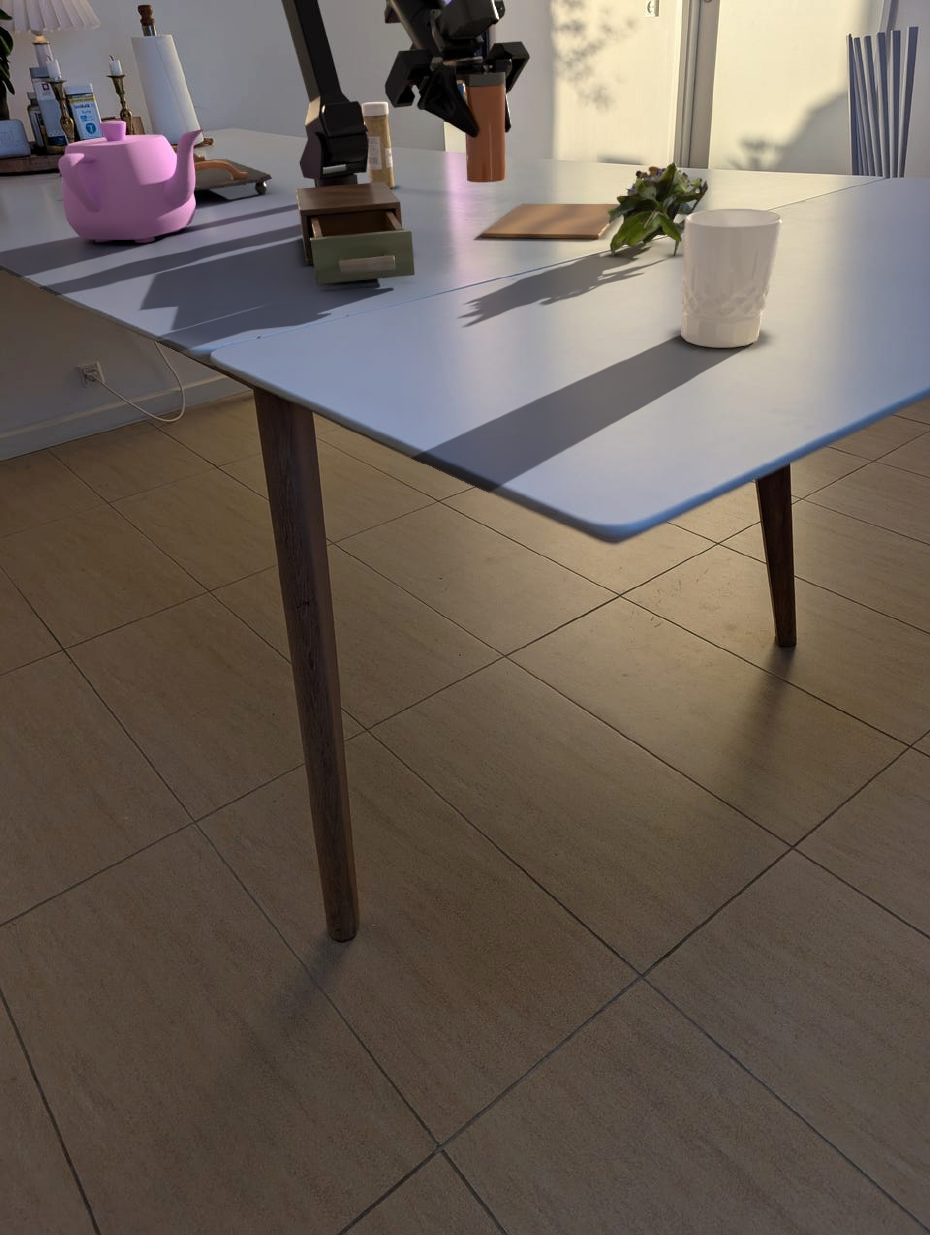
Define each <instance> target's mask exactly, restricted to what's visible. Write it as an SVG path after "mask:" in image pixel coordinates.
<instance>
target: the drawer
mask: <svg viewBox="0 0 930 1235" xmlns="http://www.w3.org/2000/svg"><path fill="white" fill-rule="evenodd" d="M310 219H311V226H312V233H313V238H310V241H311V248H312V255H313V263H314V265H313V269H314V277H315V283H316V285H325V284H336V283H348V282H357V281H358V282H359V281H366V280H377V279H387V278H399V277H409V276H415V275H416V273H415V272H416V271H415V257H414V246H413V244H414V243H413V231H412V230H411V229H409V228H408V229H404V227H403V225H402V226H401V225H400V223H399V222H398V220H397V219H396V217H395V216H394V215H393V213H392V212H391V210H390V209H381V210H369V211H357V212H345V213H334V214H322V215H310Z"/></svg>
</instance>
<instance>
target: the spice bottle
mask: <svg viewBox="0 0 930 1235" xmlns="http://www.w3.org/2000/svg"><path fill="white" fill-rule="evenodd" d="M461 84H462V87H463V98H464V100H465V102H466V104H467V106H468V108H469V110H470V112H471V113H472V115H473V117H474V119H475V122H476V124H477V127H478V129H479V133H478V134H477V136H476V137H474V138H473V137H471V136H469V135H468V134H466V133H464V136H465V137H464V138H465V139H464V141H465V164H466V181H467V182H469V183H477V184H479V183H497V182H501V181H505V180H506V179H507V158H506V157H507V156H506V154H507V153H506V152H507V150H506V133H505V88H504V84H505V72H504V71H485V72H471V73H463V74H462V83H461Z"/></svg>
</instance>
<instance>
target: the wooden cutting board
mask: <svg viewBox="0 0 930 1235" xmlns="http://www.w3.org/2000/svg"><path fill="white" fill-rule="evenodd" d="M619 205H620V203H521V204H519V205H518V206H517V207H516V208H514V209H513V210H511V211H510V212H509V213H508V214H506V215H505V216H504V217H502V218H501V219H499V220H498V221H496V222H495V223H494V224H493V225H492V226H490V227H489V228H487V229H486V230H485V231H483V232H482V233H481V238H514V239H515V238H516V239H517V238H519V239H520V238H521V239H524V238H525V239H526V238H527V239H586V240H587V239H591V240H593V239H594V240H595V239H596V240H597V239H598V240H599V239H601V237H602V236H603V234H604V233H605V232H606V231H607V230H608V229H609V227H610V226H611V225H612V224H613V223H614V221H612V222H611V224H609V218H610V216H611V215H609V214H608V209H613V208H616V207H618V206H619Z"/></svg>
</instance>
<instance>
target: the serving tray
mask: <svg viewBox="0 0 930 1235" xmlns="http://www.w3.org/2000/svg"><path fill="white" fill-rule="evenodd" d="M171 147H172V149H173V150H174V152H175V154H177V147H178V145H171ZM193 161H194V169H195V188H194V192H197V191H205V190H206V191H207V190H213V189H215V190H216V189H222V188H229V187H239V186H246V185H248V184H254V190H255V192H256V193H257V195H259V196H261V195H266V194H267V190H268V186H267V184H266V183H265V182H268V181H269V180H272V179H273V177H272V175H270V173H266V172H264V171H261V170H259V169H255V168H252V167H250V166H247V165H245V164H241V163H238V162H236V161H233V160H230V159H228V158H212V159H206V157H205V155H198V154H196V153H195V152H194V151H193Z"/></svg>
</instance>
